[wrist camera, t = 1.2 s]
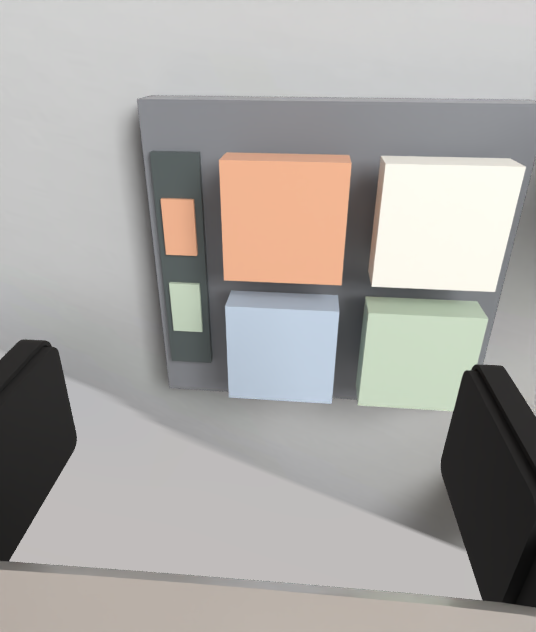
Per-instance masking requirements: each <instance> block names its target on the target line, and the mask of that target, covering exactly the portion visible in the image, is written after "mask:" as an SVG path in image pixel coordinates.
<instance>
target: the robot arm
mask: <svg viewBox="0 0 536 632" xmlns="http://www.w3.org/2000/svg"><path fill="white" fill-rule="evenodd" d="M76 441H77V436H76V430H75V426H74V422H73V416H72V412H71V407H70V402H69V398H68V394H67V389H66V384H65V379H64V375H63V370H62V365H61V361H60V356H59V352H58V350H57V348H55V347H52V346H51V344H50V343H49V342H48V341H42V340H20V341H19V342H18V343H17V344H16V345H15V346H14V347H13V348H12V349H11V350H10V351H9V352H8V353H7V354H6V355H5V356H4V357H3V358H2V359H1V360H0V632H536V417H535V415H534V414H533V412H532V410H531V409H530V407H529V406H528V404H527V403H526V401H525V399H524V398H523V396H522V395H521V393H520V392H519V390H518V388H517V387H516V385H515V384H514V382H513V381H512V379H511V377H510V376H509V374H508V373H507V371H506V370H505V368H504V367H503V366H498V365H479V364H476V365H474V366H473V367H472V369H471V370H466V371H464V373H463V376H462V379H461V383H460V387H459V391H458V395H457V399H456V403H455V407H454V411H453V415H452V419H451V423H450V427H449V431H448V435H447V438H446V442H445V446H444V450H443V454H442V458H441V473H442V477H443V480H444V483H445V486H446V489H447V492H448V495H449V498H450V501H451V505H452V508H453V511H454V514H455V517H456V520H457V523H458V526H459V529H460V532H461V535H462V539H463V542H464V545H465V548H466V551H467V554H468V557H469V560H470V563H471V566H472V569H473V572H474V576H475V578H476V582H477V585H478V588H479V591H480V594H481V597H482V600H483V601H482V600H472V599H462V598H452V597H442V596H432V595H423V594H412V593H401V592H389V591H377V590H365V589H353V588H341V587H330V586H318V585H306V584H295V583H294V584H293V583H282V582H270V581H258V580H257V581H256V580H244V579H233V578H220V577H207V576H194V575H181V574H169V573H156V572H143V571H131V570H117V569H103V568H89V567H76V566H63V565H48V564H35V563H21V562H9V560H10V558H11V556H12V554H13V553H14V551H15V550H16V548H17V546H18V545H19V543H20V541H21V539H22V538H23V536H24V534H25V533H26V531H27V529H28V528H29V526H30V524H31V523H32V521H33V519H34V517H35V516H36V514H37V512H38V511H39V509H40V507H41V506H42V504H43V502H44V500H45V499H46V497H47V495H48V494H49V492H50V490H51V488H52V487H53V485H54V484H55V482H56V480H57V478H58V477H59V475H60V473H61V471H62V470H63V468H64V466H65V465H66V463H67V461H68V459H69V458H70V456H71V455H72V453H73V451H74V449H75V446H76Z"/></svg>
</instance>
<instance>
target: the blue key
mask: <svg viewBox="0 0 536 632" xmlns="http://www.w3.org/2000/svg"><path fill="white" fill-rule="evenodd" d="M225 316H226V340H227V364H228V387H229V397H230V398H246V399H263V400H279V401H295V402H311V403H327V404H332V394H333V382H334V370H335V358H336V346H337V334H338V322H339V301H338V295H324V294H301V293H279V292H256V291H233V290H231V292H230V295H229V297H228V300H227V303H226V305H225Z"/></svg>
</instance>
